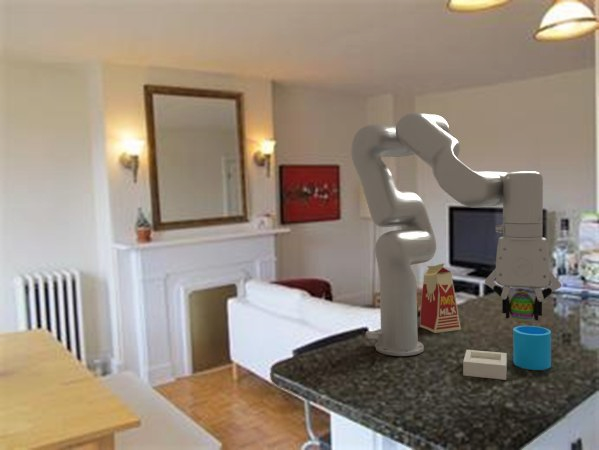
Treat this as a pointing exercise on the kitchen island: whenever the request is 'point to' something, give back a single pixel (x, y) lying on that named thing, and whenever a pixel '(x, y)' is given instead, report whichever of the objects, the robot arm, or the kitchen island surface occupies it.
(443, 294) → the milk carton
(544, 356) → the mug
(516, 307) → the egg
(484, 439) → the kitchen island surface
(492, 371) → the square tray
